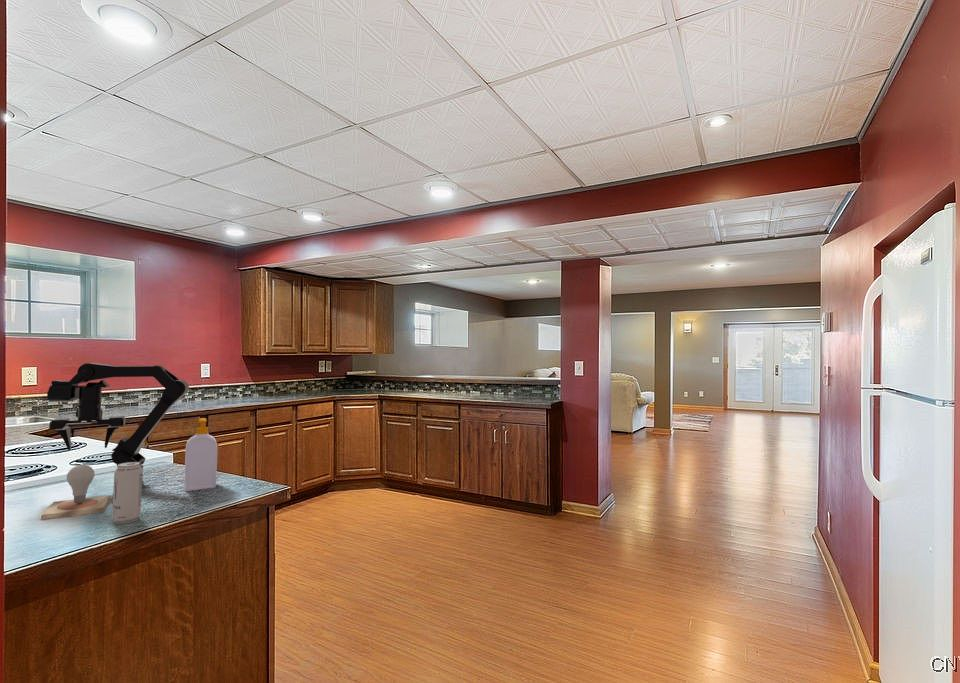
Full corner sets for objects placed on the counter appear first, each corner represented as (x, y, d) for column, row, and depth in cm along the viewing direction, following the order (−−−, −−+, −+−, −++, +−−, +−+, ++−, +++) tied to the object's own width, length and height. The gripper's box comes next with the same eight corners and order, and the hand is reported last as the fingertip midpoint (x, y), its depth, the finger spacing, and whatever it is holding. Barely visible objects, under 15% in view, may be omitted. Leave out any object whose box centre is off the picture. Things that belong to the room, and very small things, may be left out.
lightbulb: (98, 502, 136) (100, 463, 137) (74, 508, 130) (76, 468, 131) (84, 499, 138) (86, 462, 139) (59, 505, 132) (61, 466, 133)
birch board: (110, 499, 143) (110, 495, 143) (102, 511, 132) (103, 507, 132) (53, 505, 136) (53, 501, 136) (40, 519, 125) (41, 514, 125)
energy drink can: (110, 520, 125) (113, 463, 126) (138, 515, 130) (140, 460, 130) (113, 526, 121) (116, 467, 122) (142, 521, 125) (144, 464, 126)
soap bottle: (214, 483, 163) (217, 416, 164) (216, 487, 158) (218, 419, 158) (184, 486, 159) (186, 418, 159) (184, 491, 153) (187, 420, 154)
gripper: (128, 398, 166) (126, 442, 166) (58, 400, 157) (56, 447, 156) (124, 401, 157) (122, 448, 156) (49, 403, 147) (47, 453, 147)
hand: (87, 449), depth 154 cm, fingers open, 9 cm apart
